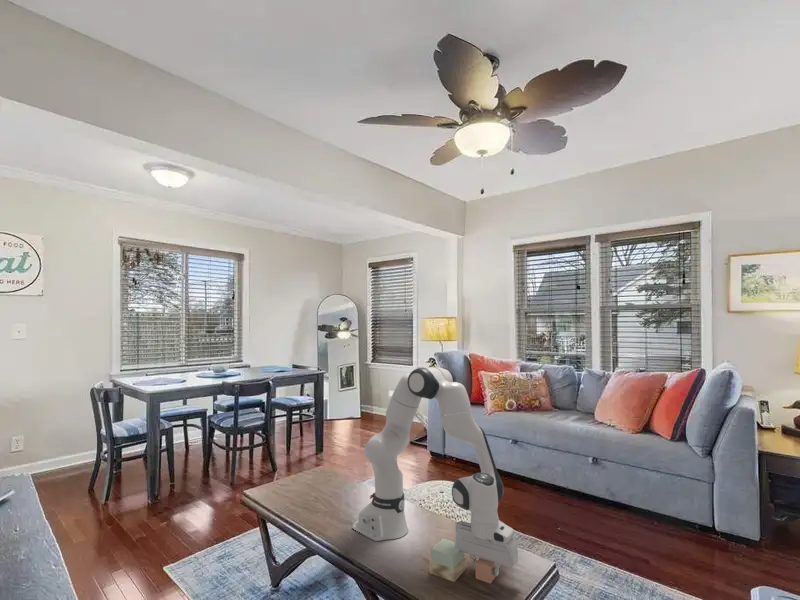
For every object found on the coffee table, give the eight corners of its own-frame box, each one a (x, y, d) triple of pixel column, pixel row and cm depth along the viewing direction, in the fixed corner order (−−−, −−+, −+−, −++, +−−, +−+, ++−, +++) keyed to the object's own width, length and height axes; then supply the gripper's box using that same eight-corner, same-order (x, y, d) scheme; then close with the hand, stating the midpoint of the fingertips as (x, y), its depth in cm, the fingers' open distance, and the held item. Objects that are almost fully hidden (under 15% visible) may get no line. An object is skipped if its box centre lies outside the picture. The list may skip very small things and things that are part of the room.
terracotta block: (475, 578, 139) (475, 562, 139) (482, 570, 143) (481, 555, 143) (490, 583, 136) (490, 567, 136) (496, 575, 140) (496, 559, 140)
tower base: (429, 574, 142) (429, 561, 142) (442, 561, 150) (442, 549, 150) (454, 583, 137) (454, 569, 137) (466, 569, 145) (466, 556, 145)
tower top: (431, 561, 142) (430, 548, 143) (443, 550, 149) (442, 538, 149) (453, 568, 138) (452, 555, 138) (464, 557, 145) (463, 544, 145)
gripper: (451, 523, 143) (452, 566, 143) (511, 539, 132) (513, 586, 131) (459, 515, 148) (460, 557, 148) (518, 530, 137) (520, 576, 136)
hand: (486, 571), depth 139 cm, fingers closed on terracotta block, 5 cm apart
